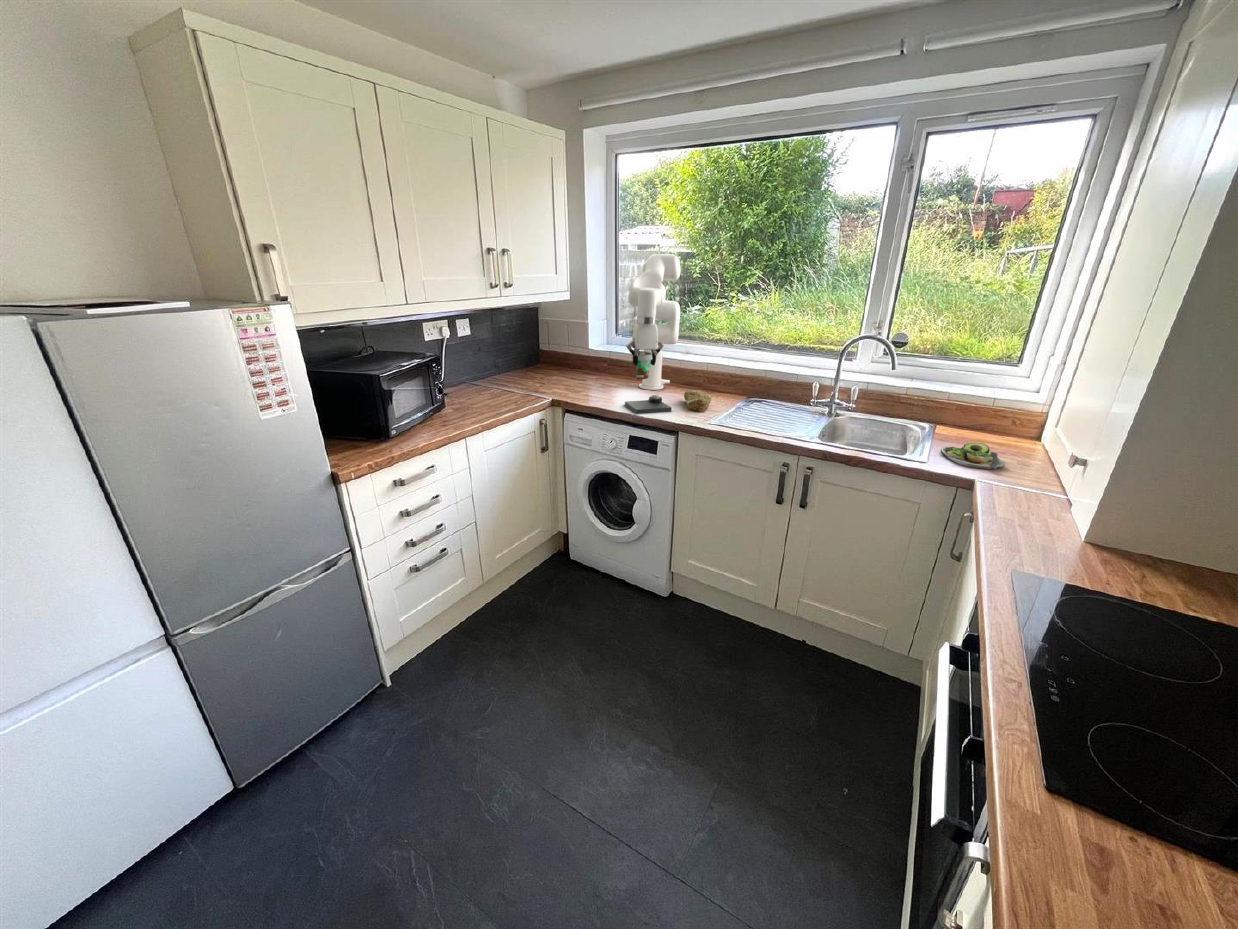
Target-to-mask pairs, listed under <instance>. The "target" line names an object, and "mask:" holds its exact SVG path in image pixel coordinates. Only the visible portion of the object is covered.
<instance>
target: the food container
mask: <svg viewBox="0 0 1238 929" xmlns="http://www.w3.org/2000/svg"><path fill="white" fill-rule="evenodd" d="M637 356H638V365H637V366H636V372H635V375H636V380H642V379H647V378H648V375H649V369H650V362H651V360H652V355H651V353H649V352H645V351H644V350H639V352H638V354H637Z"/></svg>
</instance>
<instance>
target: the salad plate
mask: <svg viewBox="0 0 1238 929" xmlns="http://www.w3.org/2000/svg"><path fill="white" fill-rule="evenodd" d="M990 450H991V448H990V446H988V445H987V444H986V443H982V442H967V443H965V444H963V446H962V447H955V446H942V447H941V448H940V453H941V454H942V455H943V456H944V457H946V458H947V459H948V460H950V461H951V462H954V463H956V464H957V465H960V466H963V467H967V468H973V469H984V470H992V469H997V468H1001V467H1004V466H1006V464H1007V463H1006V462H1005V461H1004V460H1002V459H1000V458H999V457H998V453H997V452H995V451H991V452H990Z"/></svg>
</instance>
